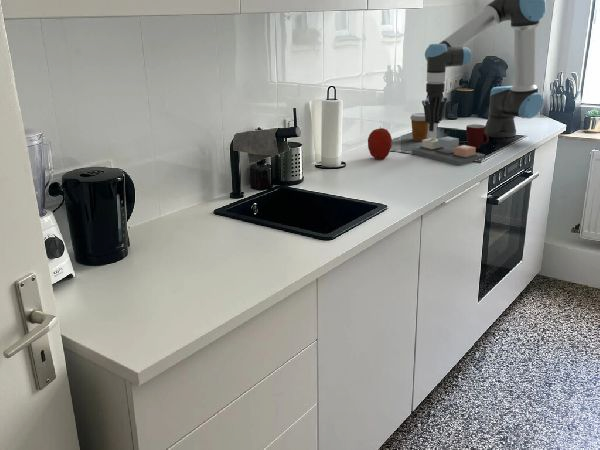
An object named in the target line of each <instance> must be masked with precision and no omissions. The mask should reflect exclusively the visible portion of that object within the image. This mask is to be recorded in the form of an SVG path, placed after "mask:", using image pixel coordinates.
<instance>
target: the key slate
mask: <svg viewBox="0 0 600 450" xmlns="http://www.w3.org/2000/svg"><path fill="white" fill-rule="evenodd" d="M437 139H438V146H442V147H447V148H451V147H457V146H460V143H459V142H460V138H457V137H453V136H443V137H439V138H437Z"/></svg>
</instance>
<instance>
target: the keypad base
mask: <svg viewBox="0 0 600 450" xmlns="http://www.w3.org/2000/svg"><path fill="white" fill-rule="evenodd" d="M411 155H413V156H414V155H416V156H418V157H423V158H425V159H431V160H435V161H439V162H442V163H445V164H450V165H454V166H458V167H459V166H462V165H467V164H471V163H474V162H473V161H475V160H479V159H482V158H485V159H486V154H484V153H480V152H475V155H472V156H467V157H463V156H459V155H455V154H454V147H451V148H447V147H440V148H435V149H430V148H426V147H422V145H421V146H419V147H418V148H412V149H411Z"/></svg>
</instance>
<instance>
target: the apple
mask: <svg viewBox="0 0 600 450" xmlns="http://www.w3.org/2000/svg"><path fill="white" fill-rule="evenodd" d="M392 141H393V138H392V136H391V133H390V132H389V130H388V129H385V128H384V127H383V128H382V127H381V126H379V128H376V129H373V130H372V131H371V132H370V133H369V135H368V138H367V148H368V152H369V153H370V156H371V157H372V158H374V159H376V160H385V159H386V158H387V157H388V156H389V154H390V151H391V149H392V143H393V142H392Z"/></svg>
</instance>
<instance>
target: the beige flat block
mask: <svg viewBox="0 0 600 450" xmlns="http://www.w3.org/2000/svg"><path fill="white" fill-rule="evenodd" d="M476 151H477V149H476V147H472V146H468V144H462V145H459V146H455V147H454V154H455V155H459V156H463V157H467V156H472V155H475V152H476ZM476 153H477V152H476Z"/></svg>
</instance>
